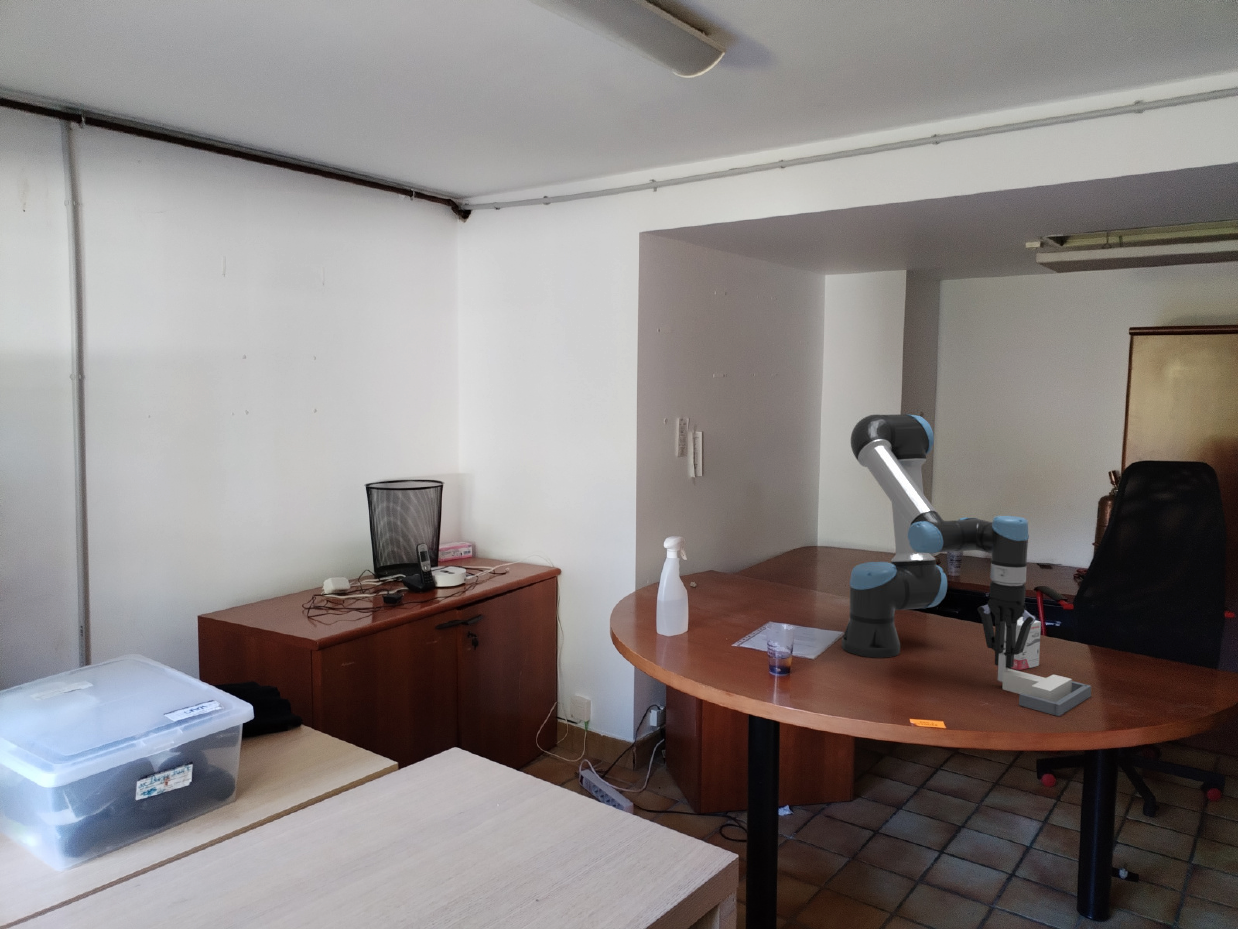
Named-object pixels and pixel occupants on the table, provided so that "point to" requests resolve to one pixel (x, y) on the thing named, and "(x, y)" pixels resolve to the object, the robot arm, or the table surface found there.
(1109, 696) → the table surface
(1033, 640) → the ink box
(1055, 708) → the dock
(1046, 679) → the t block
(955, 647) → the table surface
